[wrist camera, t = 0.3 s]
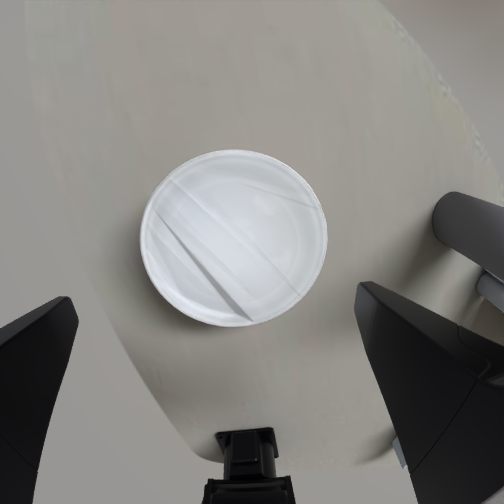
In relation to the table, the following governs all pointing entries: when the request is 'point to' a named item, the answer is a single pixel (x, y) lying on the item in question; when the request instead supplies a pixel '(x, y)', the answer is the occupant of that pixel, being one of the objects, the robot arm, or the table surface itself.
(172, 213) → the ramekin
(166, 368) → the table surface
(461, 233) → the gray cylinder
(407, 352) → the robot arm
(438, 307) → the table surface
